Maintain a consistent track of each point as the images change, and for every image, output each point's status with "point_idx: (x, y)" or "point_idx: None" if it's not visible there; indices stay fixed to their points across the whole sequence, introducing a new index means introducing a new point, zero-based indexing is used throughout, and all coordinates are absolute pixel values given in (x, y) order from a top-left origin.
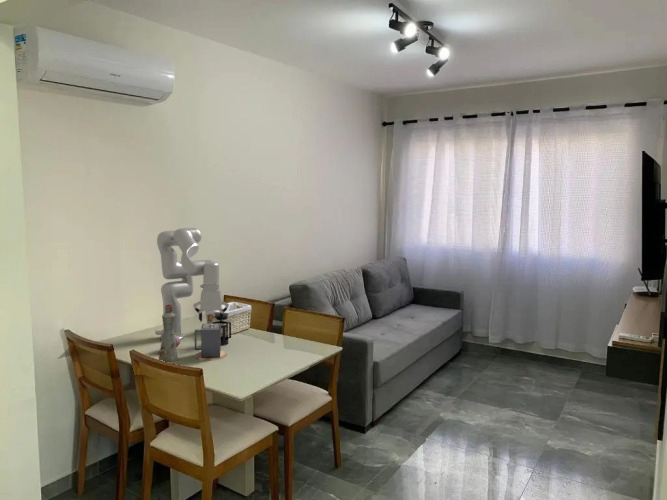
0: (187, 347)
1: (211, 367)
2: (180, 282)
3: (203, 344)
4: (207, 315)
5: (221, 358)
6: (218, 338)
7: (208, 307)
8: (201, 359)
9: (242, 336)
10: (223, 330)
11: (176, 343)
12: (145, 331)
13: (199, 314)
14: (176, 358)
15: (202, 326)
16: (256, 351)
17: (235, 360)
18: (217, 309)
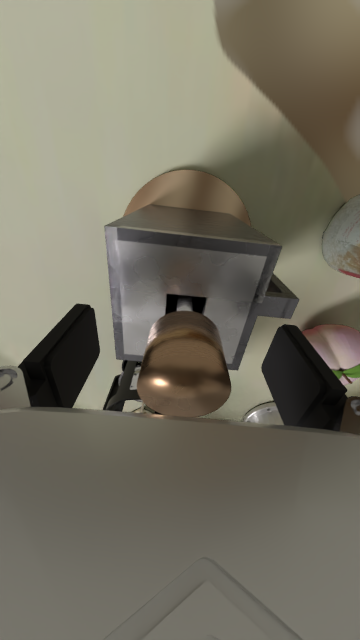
0: (251, 352)
1: (194, 60)
2: None
3: (231, 221)
4: (229, 380)
5: (142, 189)
6: (139, 214)
7: (282, 520)
8: (231, 194)
9: (93, 402)
10: (128, 380)
11: (311, 336)
12: None
13: (340, 396)
14: (340, 211)
15: (253, 309)
16: (17, 275)
17: (79, 170)
18: (20, 422)
